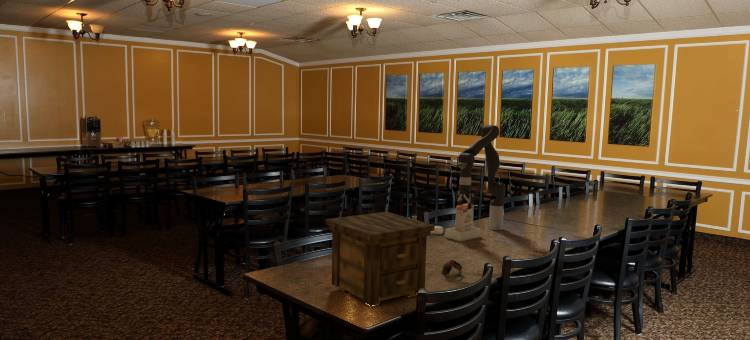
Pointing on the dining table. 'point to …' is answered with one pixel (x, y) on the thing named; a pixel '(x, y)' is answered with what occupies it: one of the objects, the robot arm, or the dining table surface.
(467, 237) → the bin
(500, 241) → the dining table surface
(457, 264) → the brown curved band
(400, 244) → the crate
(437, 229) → the tan small block
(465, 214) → the cracker box
